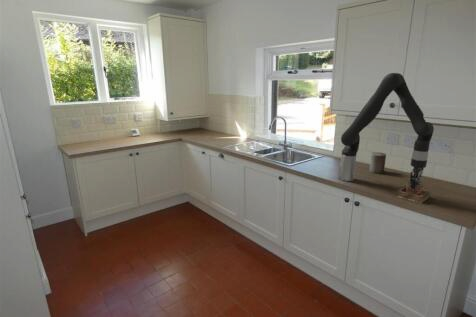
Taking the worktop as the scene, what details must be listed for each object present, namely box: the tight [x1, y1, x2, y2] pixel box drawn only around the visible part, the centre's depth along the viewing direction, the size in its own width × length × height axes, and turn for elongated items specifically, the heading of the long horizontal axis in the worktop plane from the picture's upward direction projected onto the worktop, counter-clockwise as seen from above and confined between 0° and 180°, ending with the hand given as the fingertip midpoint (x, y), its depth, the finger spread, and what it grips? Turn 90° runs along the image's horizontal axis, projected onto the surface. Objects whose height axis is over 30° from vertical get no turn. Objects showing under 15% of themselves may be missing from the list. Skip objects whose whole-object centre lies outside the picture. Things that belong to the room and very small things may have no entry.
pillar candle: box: [369, 151, 387, 175], centre depth 209 cm, size 10×10×15 cm
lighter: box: [406, 180, 424, 196], centre depth 165 cm, size 8×3×10 cm, turn 45°
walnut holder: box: [396, 185, 431, 204], centre depth 166 cm, size 13×13×4 cm
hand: (414, 186), depth 165 cm, fingers open, 4 cm apart
